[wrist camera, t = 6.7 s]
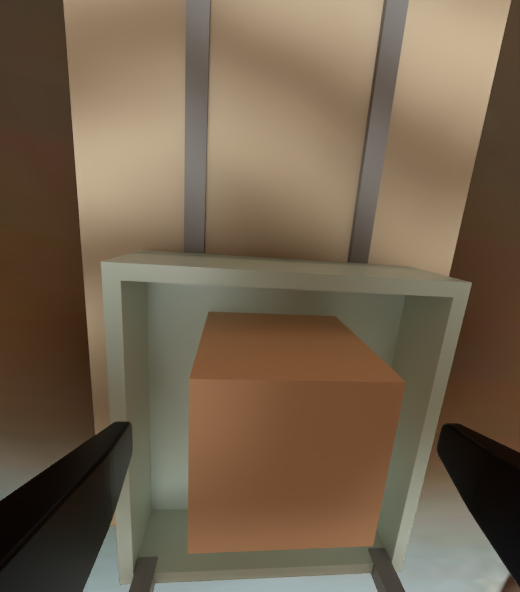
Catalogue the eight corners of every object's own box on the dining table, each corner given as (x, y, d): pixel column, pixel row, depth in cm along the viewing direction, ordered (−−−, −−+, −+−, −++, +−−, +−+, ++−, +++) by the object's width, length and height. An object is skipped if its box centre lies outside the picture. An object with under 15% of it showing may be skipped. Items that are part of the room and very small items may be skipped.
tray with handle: (359, 491, 16) (502, 799, 7) (149, 495, 15) (37, 860, 6) (401, 264, 13) (714, 344, 5) (143, 248, 12) (-78, 315, 3)
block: (321, 424, 13) (373, 546, 8) (205, 425, 12) (187, 554, 8) (335, 316, 12) (406, 382, 7) (208, 311, 11) (188, 379, 6)
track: (387, 505, 18) (427, 579, 14) (108, 511, 16) (70, 597, 12) (509, -62, 11) (642, -198, 8) (65, -143, 10) (-38, -364, 6)
